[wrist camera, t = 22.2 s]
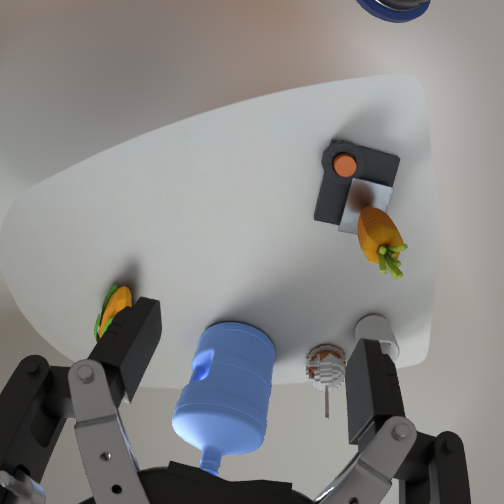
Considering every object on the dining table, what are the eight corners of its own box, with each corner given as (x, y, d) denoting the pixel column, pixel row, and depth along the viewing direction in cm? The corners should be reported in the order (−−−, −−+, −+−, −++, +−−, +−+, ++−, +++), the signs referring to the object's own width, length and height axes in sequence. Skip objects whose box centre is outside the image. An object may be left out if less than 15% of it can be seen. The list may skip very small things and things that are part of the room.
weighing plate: (352, 177, 40) (352, 177, 40) (393, 187, 40) (393, 188, 40) (338, 229, 44) (338, 230, 44) (376, 238, 44) (377, 239, 44)
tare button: (336, 151, 39) (337, 153, 38) (356, 155, 39) (358, 158, 38) (331, 170, 41) (332, 174, 39) (351, 175, 40) (353, 179, 39)
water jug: (277, 323, 58) (260, 463, 34) (273, 374, 66) (257, 492, 42) (196, 315, 60) (146, 442, 36) (204, 366, 68) (169, 477, 44)
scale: (325, 135, 41) (327, 138, 38) (398, 153, 40) (404, 158, 38) (308, 215, 47) (308, 223, 44) (375, 229, 47) (379, 238, 44)
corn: (86, 350, 61) (96, 291, 51) (99, 327, 67) (113, 266, 57) (116, 365, 62) (133, 309, 52) (127, 340, 69) (147, 283, 59)
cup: (398, 340, 57) (406, 370, 50) (362, 353, 60) (366, 384, 53) (385, 303, 53) (393, 334, 46) (344, 319, 56) (348, 350, 49)
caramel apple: (305, 344, 60) (303, 408, 48) (344, 341, 59) (350, 405, 46) (308, 369, 64) (306, 429, 51) (344, 366, 62) (348, 426, 50)
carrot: (346, 195, 41) (367, 250, 28) (381, 190, 40) (416, 242, 27) (351, 228, 44) (369, 292, 31) (384, 223, 42) (415, 285, 30)
